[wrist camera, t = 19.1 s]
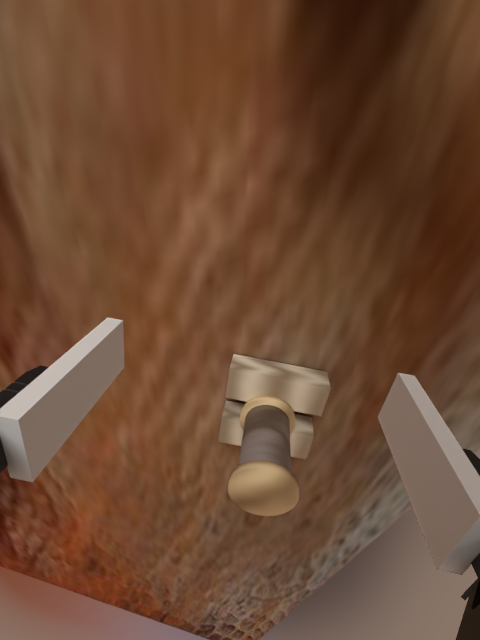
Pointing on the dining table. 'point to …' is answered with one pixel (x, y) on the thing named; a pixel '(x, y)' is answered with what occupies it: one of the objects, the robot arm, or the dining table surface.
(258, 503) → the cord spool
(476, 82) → the dining table surface
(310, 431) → the slotted stand
